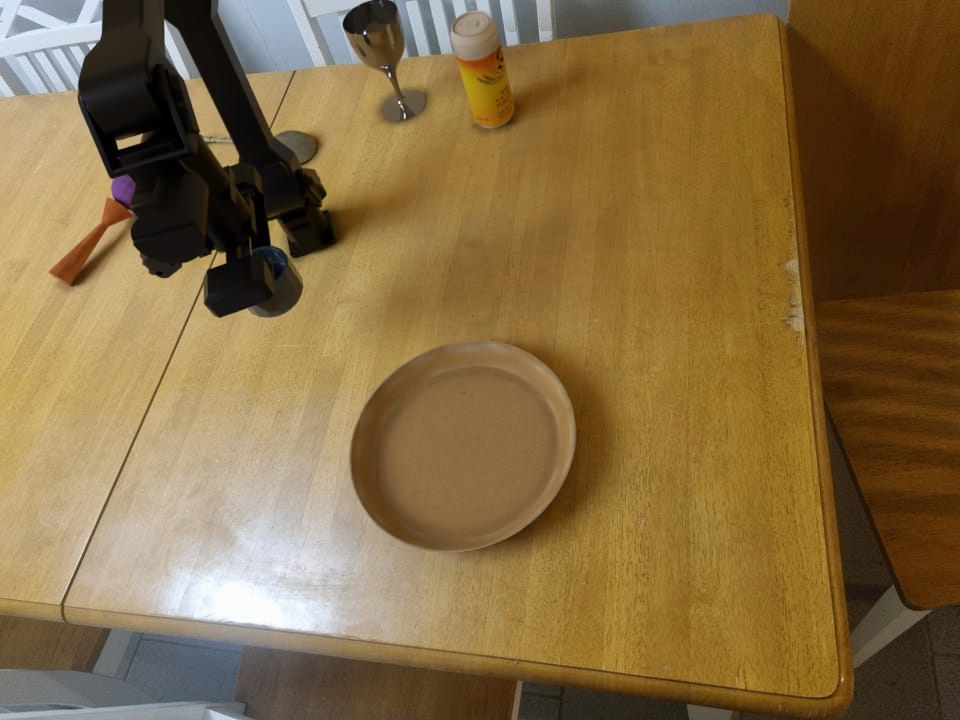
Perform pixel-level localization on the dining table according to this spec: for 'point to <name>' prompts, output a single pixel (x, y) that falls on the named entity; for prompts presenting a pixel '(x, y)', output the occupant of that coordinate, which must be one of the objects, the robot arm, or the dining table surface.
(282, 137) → the soupspoon
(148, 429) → the dining table surface
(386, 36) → the wine glass
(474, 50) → the beer can
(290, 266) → the bowl
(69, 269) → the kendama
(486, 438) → the plant saucer
